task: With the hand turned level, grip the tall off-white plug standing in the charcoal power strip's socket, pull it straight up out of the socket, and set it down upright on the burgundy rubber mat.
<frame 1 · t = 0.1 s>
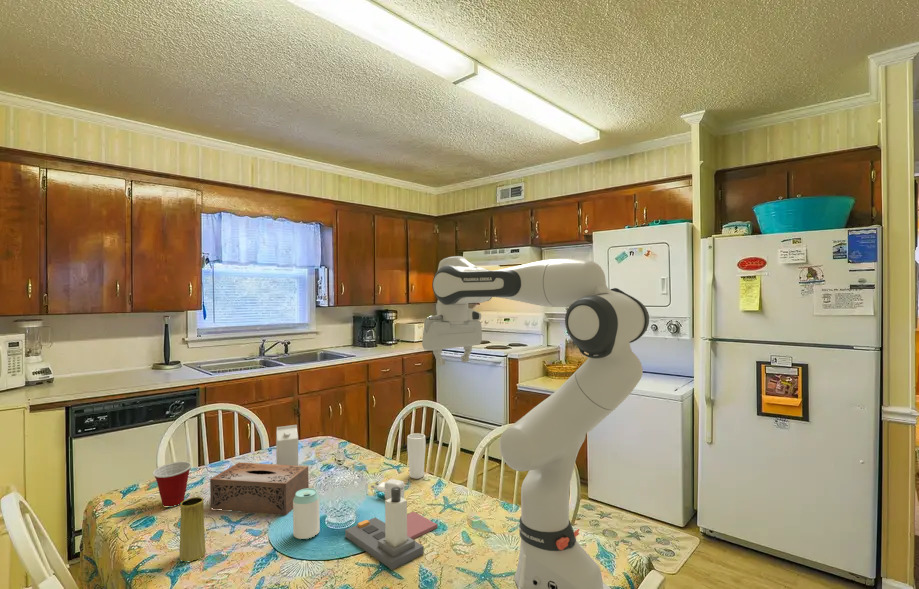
hand: (453, 363, 131), 48 cm above the table, tool pointing down, fingers open, 8 cm apart
milk carton: (287, 477, 172), on the table
vase: (192, 556, 121), on the table
can: (306, 535, 131), on the table
drinking glass: (416, 476, 172), on the table
tissue box cover: (261, 503, 152), on the table
power strip: (383, 545, 125), on the table
rubber mat: (410, 527, 134), on the table
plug: (396, 554, 121), resting in power strip
power adapter: (387, 498, 154), on the table
plastic cup: (172, 504, 151), on the table
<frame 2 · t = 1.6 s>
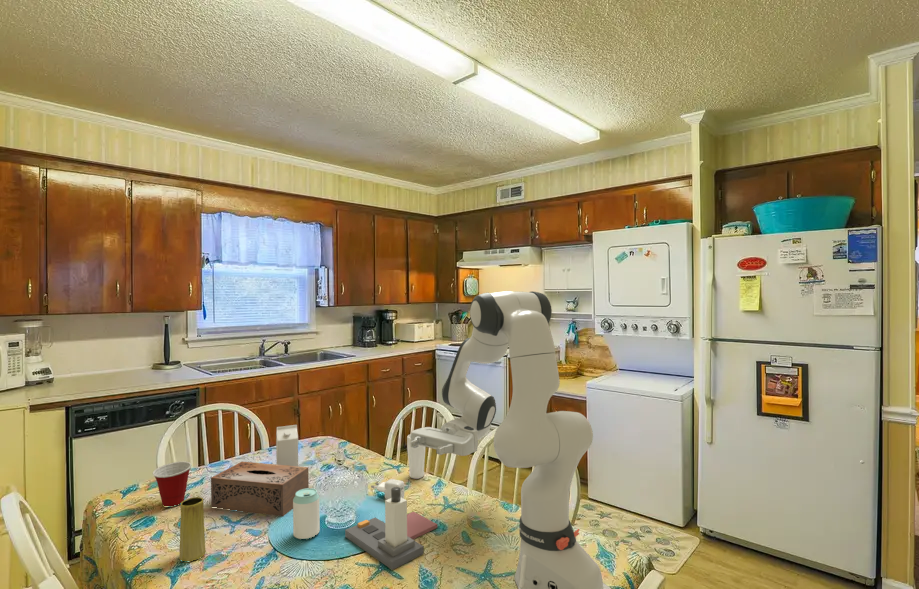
hand: (425, 448, 131), 24 cm above the table, tool horizontal, fingers open, 8 cm apart
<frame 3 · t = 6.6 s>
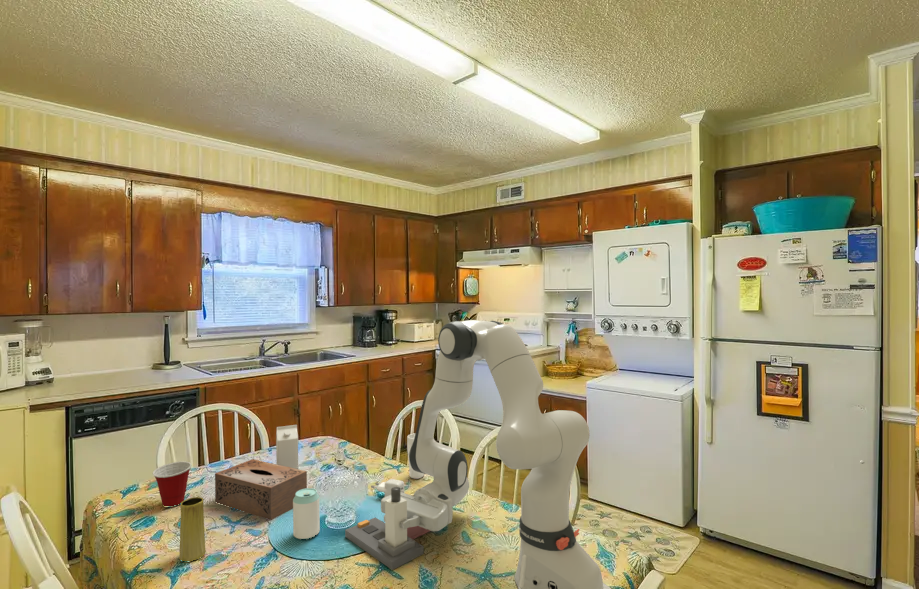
hand: (393, 522, 120), 9 cm above the table, tool horizontal, fingers closed on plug, 4 cm apart
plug: (396, 553, 121), resting in power strip, touching gripper
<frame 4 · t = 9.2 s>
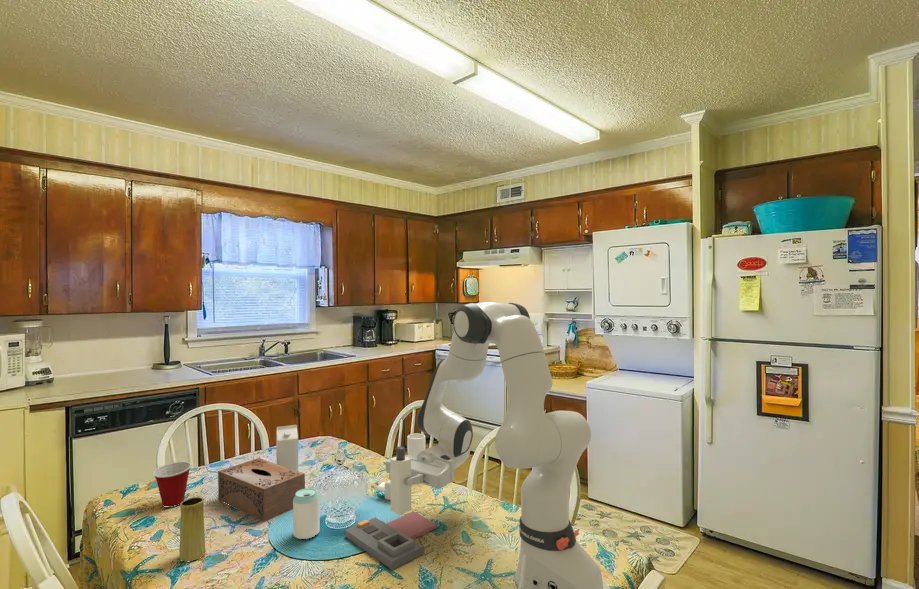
hand: (398, 480, 126), 17 cm above the table, tool horizontal, fingers closed on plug, 4 cm apart
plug: (401, 510, 126), point 9 cm above the table, touching gripper
when the fingers open (10 cm above the table, at t = 12.0 s): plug stays where it is, resting on rubber mat.
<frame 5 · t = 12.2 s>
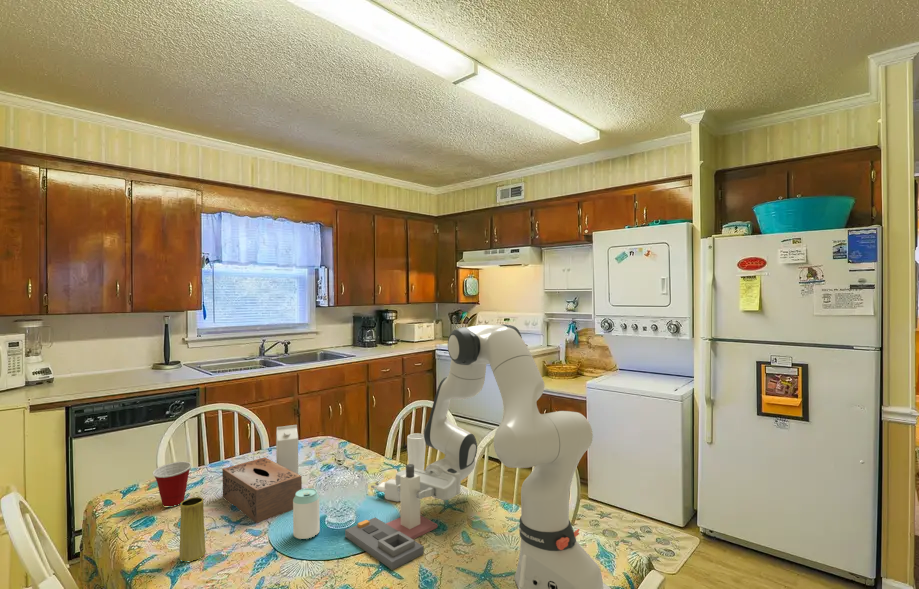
hand: (408, 492, 133), 10 cm above the table, tool horizontal, fingers open, 6 cm apart
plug: (410, 524, 134), point 1 cm above the table, touching rubber mat
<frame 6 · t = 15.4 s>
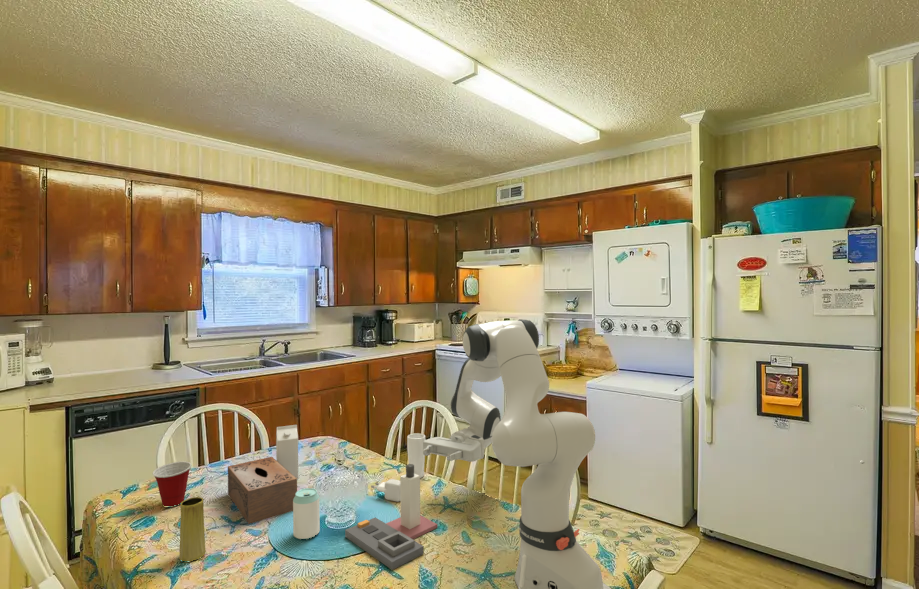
hand: (436, 455, 144), 18 cm above the table, tool horizontal, fingers open, 8 cm apart
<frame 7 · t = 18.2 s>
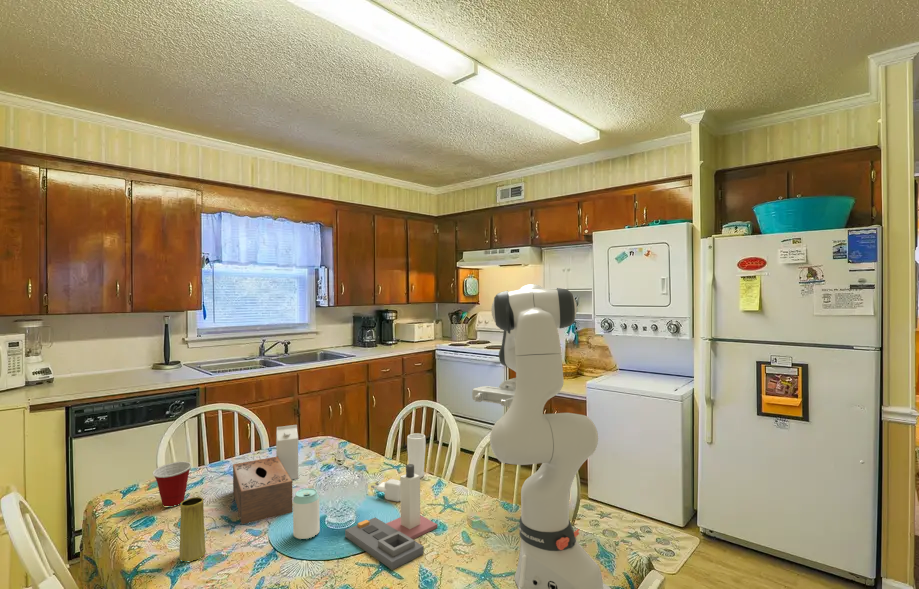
hand: (489, 401, 140), 35 cm above the table, tool horizontal, fingers open, 8 cm apart
at the end: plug inside the target area on the rubber mat (0.0 cm from its centre), point 1.0 cm above the rubber mat's base; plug tilted 0°; the gripper is holding nothing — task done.
